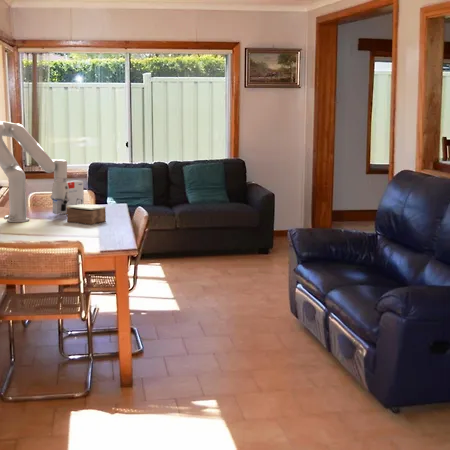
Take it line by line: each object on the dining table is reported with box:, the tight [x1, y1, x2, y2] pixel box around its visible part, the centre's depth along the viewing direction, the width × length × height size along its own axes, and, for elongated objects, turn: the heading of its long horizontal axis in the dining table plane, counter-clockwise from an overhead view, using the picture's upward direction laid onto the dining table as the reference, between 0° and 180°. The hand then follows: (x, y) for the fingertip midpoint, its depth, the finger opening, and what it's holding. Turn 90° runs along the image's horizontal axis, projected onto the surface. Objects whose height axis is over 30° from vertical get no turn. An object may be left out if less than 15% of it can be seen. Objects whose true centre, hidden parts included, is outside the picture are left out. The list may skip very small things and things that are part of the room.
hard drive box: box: [63, 179, 85, 215], centre depth 454 cm, size 16×8×20 cm, turn 143°
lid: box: [66, 203, 106, 210], centre depth 421 cm, size 13×18×1 cm
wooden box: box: [66, 208, 107, 226], centre depth 422 cm, size 13×18×8 cm
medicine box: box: [52, 199, 67, 215], centre depth 432 cm, size 8×4×9 cm, turn 141°
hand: (59, 210), depth 432 cm, fingers closed on medicine box, 5 cm apart
